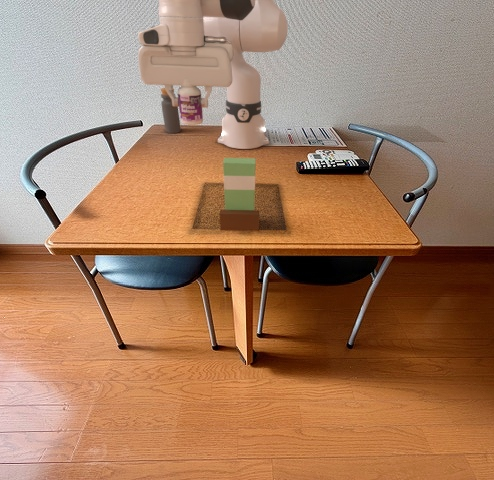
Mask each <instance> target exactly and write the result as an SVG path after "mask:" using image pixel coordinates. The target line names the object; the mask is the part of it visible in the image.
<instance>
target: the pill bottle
mask: <svg viewBox="0 0 494 480" xmlns="http://www.w3.org/2000/svg"><path fill="white" fill-rule="evenodd" d="M177 97H178V100H179V107H178V111H179V119H180V123H182V124H183V125H187V126H197V125H201V124H203V122H204V117H203V116H204V115H203V107H201V104H202V103H201V98H202V91H201V89H200V88H199V87H198V86H192V85H191V83H190V81H189V80H184V83H183V85H180V86H179V88H178V90H177Z"/></svg>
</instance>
